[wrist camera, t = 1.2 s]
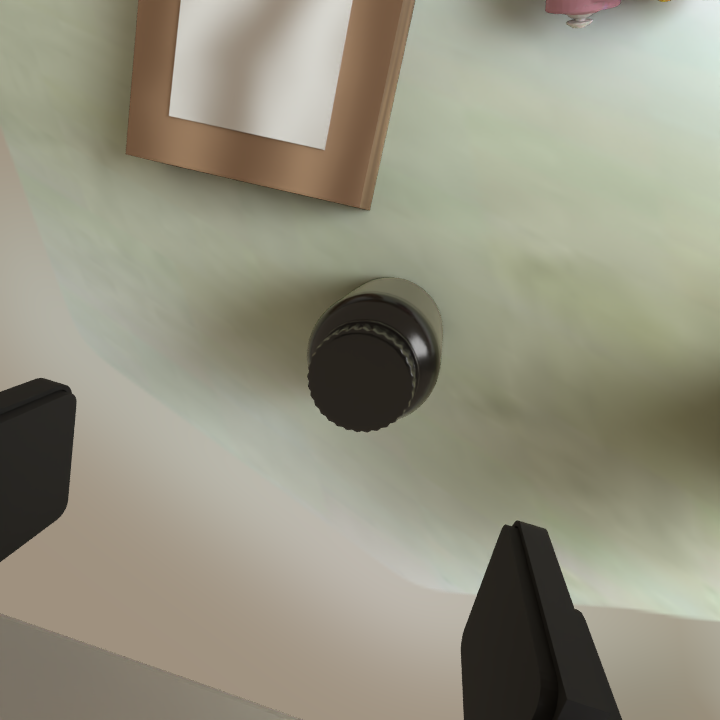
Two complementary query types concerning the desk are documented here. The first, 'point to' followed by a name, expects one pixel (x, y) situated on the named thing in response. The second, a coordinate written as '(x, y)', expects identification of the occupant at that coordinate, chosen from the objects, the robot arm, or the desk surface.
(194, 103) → the brown picture frame
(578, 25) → the video game controller
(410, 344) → the supplement bottle
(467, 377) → the desk surface
